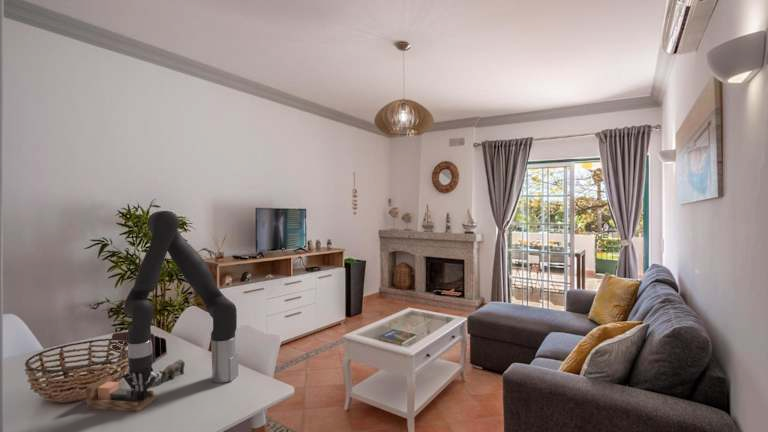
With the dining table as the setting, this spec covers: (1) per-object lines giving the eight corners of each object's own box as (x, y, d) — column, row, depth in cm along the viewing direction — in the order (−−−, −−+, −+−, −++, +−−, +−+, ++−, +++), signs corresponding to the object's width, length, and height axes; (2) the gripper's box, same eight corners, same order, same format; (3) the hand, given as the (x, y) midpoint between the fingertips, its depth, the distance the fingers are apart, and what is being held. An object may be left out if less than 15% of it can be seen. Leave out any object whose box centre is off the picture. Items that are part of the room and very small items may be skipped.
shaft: (140, 397, 147) (139, 385, 147) (131, 403, 143) (130, 391, 142) (119, 395, 148) (118, 384, 148) (109, 402, 144) (109, 389, 143)
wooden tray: (156, 398, 149) (155, 378, 148) (138, 411, 140) (137, 390, 139) (107, 395, 151) (106, 375, 151) (87, 408, 142) (86, 387, 142)
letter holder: (154, 363, 180) (153, 332, 179) (111, 362, 180) (110, 332, 179) (167, 354, 190) (166, 325, 189) (126, 353, 190) (125, 324, 189)
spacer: (119, 396, 148) (118, 382, 148) (109, 402, 144) (108, 388, 143) (108, 395, 149) (107, 381, 148) (98, 402, 144) (97, 387, 144)
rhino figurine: (153, 385, 159) (153, 370, 159) (180, 370, 172) (179, 356, 172) (162, 386, 158) (161, 372, 158) (188, 371, 171) (187, 358, 171)
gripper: (115, 356, 140) (117, 404, 141) (150, 358, 139) (151, 406, 140) (131, 348, 148) (133, 393, 149) (164, 349, 146) (165, 395, 147)
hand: (142, 399), depth 144 cm, fingers closed
